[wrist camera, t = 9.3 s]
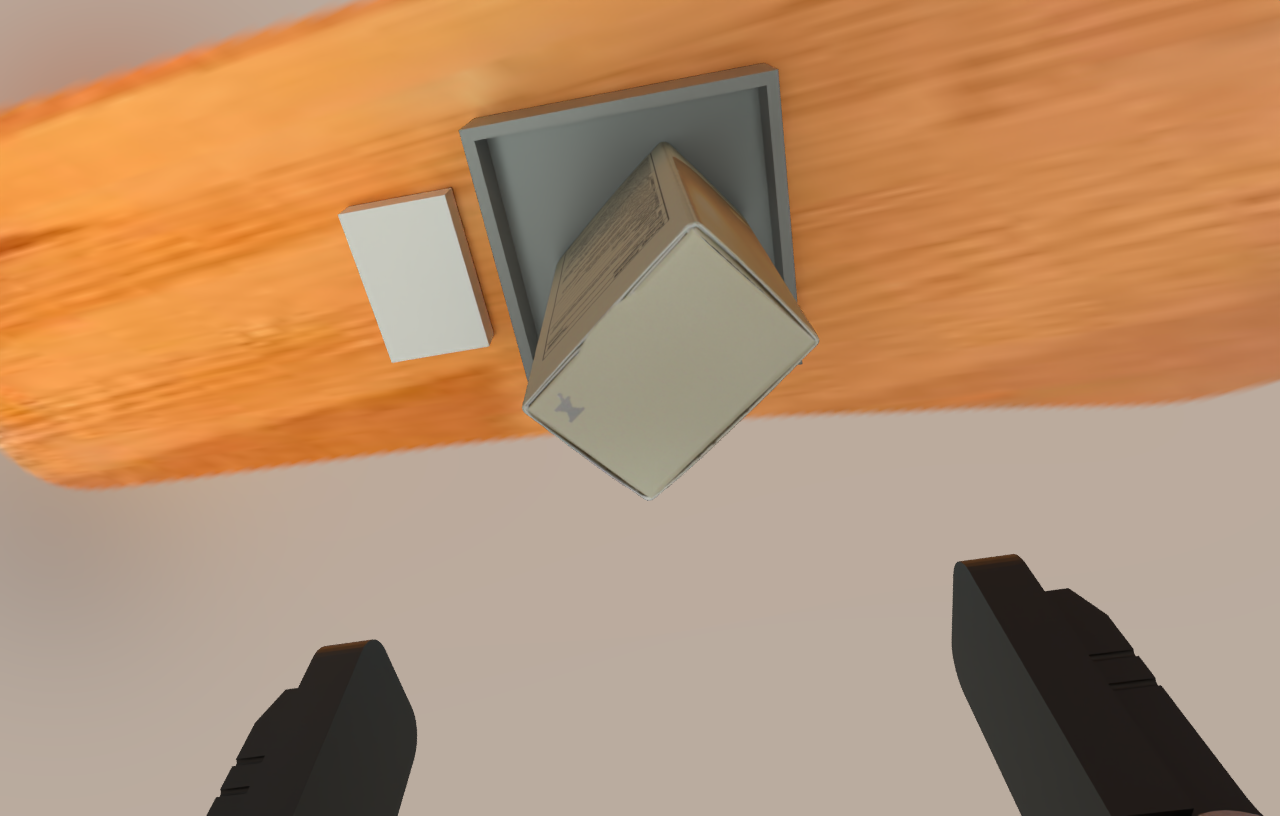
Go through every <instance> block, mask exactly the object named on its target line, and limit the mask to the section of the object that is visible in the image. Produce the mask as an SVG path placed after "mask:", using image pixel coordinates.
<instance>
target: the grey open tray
mask: <svg viewBox="0 0 1280 816" xmlns="http://www.w3.org/2000/svg"><path fill="white" fill-rule="evenodd" d="M459 133H460V137H461V140H462V144H463V148H464V151H465V155H466V158H467V162H468V166H469V169H470V173H471V177H472V180H473V184H474V187H475V191H476V195H477V198H478V202H479V206H480V209H481V213H482V217H483V220H484V224H485V227H486V231H487V235H488V238H489V242H490V246H491V249H492V253H493V257H494V260H495V264H496V267H497V271H498V275H499V278H500V282H501V286H502V289H503V293H504V296H505V300H506V304H507V307H508V311H509V315H510V318H511V322H512V326H513V329H514V333H515V336H516V340H517V344H518V347H519V351H520V355H521V358H522V362H523V366H524V369H525V373H526V376H527V380H528V381H529V377H530V373H531V369H532V364H533V360H534V357H535V352H536V348H537V344H538V340H539V336H540V332H541V328H542V324H543V320H544V316H545V312H546V307H547V304H548V300H549V296H550V291H551V287H552V283H553V278H554V275H555V270H556V266H557V263H558V262H559V260H560V259H561V258H562V256H563V255H564V254H565V253H566V251H567V250H568V249H569V248H570V246H571V245H572V244H573V242H574V241H575V240H576V239H577V237H578V236H579V235H580V234H581V233H582V231H583V230H584V229H585V228H586V226H587V225H588V224H589V223H590V222H591V220H592V219H593V218H594V217H595V216H596V214H597V213H598V212H599V211H600V210H601V209H602V207H603V206H604V205H605V204H606V203H607V201H608V200H609V199H610V198H611V197H612V195H613V194H614V193H615V192H616V191H617V190H618V188H619V187H620V186H621V185H622V184H623V183H624V182H625V181H626V179H627V178H628V177H629V176H630V175H631V174H632V173H633V171H634V170H635V169H636V168H637V167H638V166H639V165H640V164H641V162H642V161H643V160H644V159H645V158H646V157H647V156H648V155H649V154H650V153H651V152H652V151H653V150H654V148H655V147H656V146H657V145H658V144H659V143H661V142H666V143H668V144H670V145H671V146H672V147H673V148H674V149H675V150H677V151H678V152H679V153H680V154H681V155H682V156H683V157H684V158H685V159H686V160H687V161H688V162H689V163H690V164H691V165H693V166H694V167H695V168H696V169H697V170H698V171H699V172H700V173H701V174H702V175H703V176H704V177H705V178H706V179H707V180H708V181H709V182H710V183H711V184H712V185H713V186H714V187H715V188H716V189H717V190H718V191H719V192H720V193H721V194H722V195H723V196H724V197H725V198H726V199H727V200H728V201H729V202H730V203H731V204H732V205H733V206H734V207H735V208H736V209H737V210H738V211H739V212H740V213H741V214H742V215H743V216H744V218H745V219H746V221H747V223H748V224H749V226H750V228H751V229H752V231H753V233H754V234H755V236H756V237H757V239H758V240H759V242H760V244H761V245H762V247H763V249H764V250H765V252H766V253H767V255H768V256H769V258H770V260H771V261H772V263H773V265H774V266H775V268H776V269H777V271H778V273H779V274H780V276H781V278H782V279H783V281H784V282H785V284H786V286H787V287H788V289H789V291H790V292H791V294H792V295H793V297H794V299H795V300H796V302H797V293H796V281H795V268H794V256H793V244H792V232H791V220H790V207H789V195H788V183H787V171H786V159H785V147H784V134H783V122H782V110H781V98H780V86H779V74H778V69H776V68H774V67H772V66H770V65H768V64H766V63H760V64H755V65H750V66H745V67H739V68H734V69H729V70H724V71H719V72H713V73H708V74H703V75H698V76H693V77H687V78H682V79H677V80H672V81H666V82H661V83H656V84H651V85H646V86H640V87H635V88H630V89H625V90H620V91H614V92H609V93H604V94H599V95H593V96H588V97H583V98H578V99H573V100H567V101H562V102H557V103H552V104H547V105H541V106H536V107H531V108H526V109H520V110H515V111H510V112H505V113H500V114H494V115H489V116H484V117H479V118H474V119H473V120H471V121H470V122H469V123H468V124H466V125H465V126H464V127H463V128H461V129H460V130H459ZM338 216H339V219H340V222H341V225H342V227H343V230H344V233H345V236H346V238H347V241H348V244H349V246H350V249H351V252H352V255H353V257H354V260H355V263H356V266H357V268H358V271H359V274H360V277H361V279H362V282H363V285H364V288H365V290H366V293H367V296H368V298H369V301H370V304H371V307H372V309H373V312H374V315H375V318H376V320H377V323H378V326H379V329H380V331H381V334H382V337H383V339H384V342H385V345H386V348H387V350H388V353H389V356H390V359H391V361H392V363H393V362H399V361H405V360H411V359H417V358H423V357H429V356H435V355H440V354H446V353H452V352H458V351H464V350H470V349H476V348H482V347H488V346H490V343H491V341H492V338H493V336H494V333H493V329H492V326H491V322H490V319H489V315H488V312H487V309H486V305H485V302H484V298H483V295H482V291H481V288H480V284H479V281H478V277H477V274H476V271H475V267H474V264H473V260H472V257H471V253H470V250H469V246H468V243H467V239H466V236H465V233H464V229H463V226H462V222H461V219H460V215H459V212H458V208H457V205H456V201H455V198H454V195H453V191H452V188H446V189H441V190H436V191H430V192H425V193H420V194H414V195H409V196H403V197H398V198H393V199H387V200H382V201H376V202H371V203H366V204H360V205H355V206H349V207H347V208H346V209H345V210H343V211H342V212H341V213H339V214H338ZM800 364H802V361H801V362H800V363H799V364H798V365H800Z"/></svg>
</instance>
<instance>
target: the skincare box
mask: <svg viewBox="0 0 1280 816" xmlns="http://www.w3.org/2000/svg"><path fill="white" fill-rule="evenodd" d="M818 343H819V338H818V336H817V334H816V332H815V331H814V329H813V328H812V326H811V324H810V323H809V321H808V320H807V318H806V317H805V315H804V314H803V312H802V310H801V309H800V307H799V305H798V304H797V302H796V300H795V299H794V297H793V295H792V294H791V292H790V291H789V289H788V287H787V286H786V284H785V282H784V281H783V279H782V278H781V276H780V274H779V273H778V271H777V269H776V268H775V266H774V265H773V263H772V261H771V260H770V258H769V256H768V255H767V253H766V252H765V250H764V249H763V247H762V245H761V244H760V242H759V240H758V239H757V237H756V236H755V234H754V233H753V231H752V229H751V228H750V226H749V224H748V223H747V221H746V219H745V218H744V216H743V215H742V214H741V213H740V212H739V211H738V210H737V209H736V208H735V207H734V206H733V205H732V204H731V203H730V202H729V201H728V200H727V199H726V198H725V197H724V196H723V195H722V194H721V193H720V192H719V191H718V190H717V189H716V188H715V187H714V186H713V185H712V184H711V183H710V182H709V181H708V180H707V179H706V178H705V177H704V176H703V175H702V174H701V173H700V172H699V171H698V170H697V169H696V168H695V167H694V166H693V165H691V164H690V163H689V162H688V161H687V160H686V159H685V158H684V157H683V156H682V155H681V154H680V153H679V152H678V151H677V150H675V149H674V148H673V147H672V146H671V145H670V144H668V143H666V142H661V143H659V144H658V145H657V146H656V147H655V148H654V150H653V151H652V152H651V153H650V154H649V155H648V156H647V157H646V158H645V159H644V160H643V161H642V162H641V164H640V165H639V166H638V167H637V168H636V169H635V170H634V171H633V173H632V174H631V175H630V176H629V177H628V178H627V179H626V181H625V182H624V183H623V184H622V185H621V186H620V187H619V188H618V190H617V191H616V192H615V193H614V194H613V195H612V197H611V198H610V199H609V200H608V201H607V203H606V204H605V205H604V206H603V207H602V209H601V210H600V211H599V212H598V213H597V214H596V216H595V217H594V218H593V219H592V220H591V222H590V223H589V224H588V225H587V226H586V228H585V229H584V230H583V231H582V233H581V234H580V235H579V236H578V237H577V239H576V240H575V241H574V242H573V244H572V245H571V246H570V248H569V249H568V250H567V251H566V253H565V254H564V255H563V256H562V258H561V259H560V260H559V262H558V263H557V266H556V270H555V275H554V278H553V283H552V287H551V291H550V296H549V300H548V304H547V307H546V312H545V316H544V320H543V324H542V328H541V332H540V336H539V340H538V344H537V348H536V352H535V357H534V360H533V364H532V369H531V373H530V377H529V381H528V385H527V389H526V394H525V398H524V401H523V406H522V409H523V412H525V413H526V414H527V415H528V416H530V417H531V418H532V419H534V420H535V421H536V422H538V423H539V424H541V425H542V426H543V427H545V428H546V429H547V430H548V431H549V432H551V433H552V434H553V435H555V436H556V437H558V438H559V439H561V440H562V441H563V442H564V443H566V444H567V445H568V446H569V447H571V448H572V449H573V450H575V451H576V452H578V453H579V454H580V455H582V456H583V457H585V458H586V459H587V460H589V461H590V462H591V463H592V464H594V465H595V466H597V467H598V468H599V469H601V470H602V471H603V472H605V473H606V474H608V475H609V476H610V477H612V478H613V479H615V480H616V481H618V482H619V483H621V484H622V485H624V486H626V487H627V488H629V489H630V490H632V491H633V492H635V493H636V494H637V495H639V496H640V497H642V498H643V499H645V500H647V501H648V500H653V499H654V498H656V497H657V496H658V495H659V494H660V493H661V492H663V491H664V490H665V489H666V488H668V487H669V486H670V485H671V484H672V483H673V482H675V481H676V480H677V479H678V478H679V477H681V476H682V475H683V474H684V473H685V472H686V471H687V470H688V469H690V468H691V467H692V466H693V465H694V464H695V463H696V462H697V461H698V460H700V459H701V458H702V457H703V456H704V455H705V454H706V453H707V452H708V451H709V450H710V449H712V448H713V447H714V446H715V445H716V444H717V443H718V442H719V441H720V440H721V439H722V438H723V437H724V436H725V435H726V434H728V432H730V430H732V429H733V428H734V427H735V426H736V425H737V424H738V423H739V422H740V421H741V420H742V419H743V418H744V417H745V416H746V415H747V414H748V413H749V412H750V411H751V410H752V409H753V408H755V407H756V406H757V405H758V404H759V403H760V402H761V401H762V400H763V399H764V398H765V397H766V396H767V395H768V394H769V393H770V392H771V391H772V390H773V389H774V388H775V387H776V386H777V385H778V384H779V383H780V382H781V381H782V380H783V379H784V378H785V377H786V376H787V375H788V374H789V373H790V372H791V371H792V370H793V369H794V368H795V367H796V366H797V365H798V364H799V363H800V362H801V361H802V360H803V358H804V357H805V356H806V355H807V354H808V353H809V352H810V351H811V350H812V349H814V348H815V347H816V346H817V345H818Z"/></svg>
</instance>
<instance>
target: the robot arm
mask: <svg viewBox="0 0 1280 816" xmlns="http://www.w3.org/2000/svg"><path fill="white" fill-rule="evenodd" d="M952 614H953V615H952V653H953V659H954V664H955V668H956V672H957V676H958V679H959V682H960V685H961V688H962V690H963V692H964V695H965V697H966V699H967V701H968V703H969V705H970V707H971V709H972V711H973V714H974V716H975V718H976V720H977V722H978V724H979V726H980V728H981V731H982V733H983V735H984V737H985V739H986V741H987V743H988V745H989V748H990V749H991V752H992V754H993V756H994V758H995V760H996V762H997V764H998V766H999V769H1000V771H1001V773H1002V775H1003V777H1004V779H1005V782H1006V784H1007V786H1008V788H1009V790H1010V792H1011V794H1012V796H1013V798H1014V801H1015V803H1016V805H1017V807H1018V809H1019V811H1020V813H1021V815H1022V816H1263V815H1262V814H1261V813H1260V812H1259V811H1258V810H1257V809H1256V808H1255V807H1254V806H1253V804H1252V803H1251V802H1250V801H1249V800H1248V798H1246V796H1245V795H1244V793H1243V792H1242V791H1241V790H1240V788H1239V787H1238V785H1237V784H1236V783H1235V782H1234V780H1233V779H1232V778H1231V777H1230V775H1229V774H1228V773H1227V771H1226V770H1225V769H1224V767H1223V766H1222V764H1221V763H1220V762H1219V761H1218V759H1217V758H1216V757H1215V755H1214V754H1213V753H1212V751H1211V750H1210V749H1209V748H1208V746H1207V745H1206V744H1205V742H1204V741H1203V740H1202V738H1201V737H1200V736H1199V735H1198V733H1197V732H1196V730H1195V729H1194V728H1193V726H1192V725H1191V724H1190V723H1189V721H1188V720H1187V719H1186V717H1185V716H1184V715H1183V713H1182V712H1181V711H1180V710H1179V708H1178V707H1177V706H1176V704H1175V703H1174V702H1173V700H1172V699H1171V698H1170V696H1169V695H1168V694H1167V692H1166V691H1165V690H1164V688H1162V686H1161V685H1160V686H1158V685H1157V683H1156V680H1155V677H1154V675H1153V674H1152V673H1151V671H1150V670H1149V669H1148V668H1147V666H1146V665H1145V664H1144V662H1143V661H1142V660H1141V658H1140V657H1139V656H1135V654H1134V651H1133V648H1132V647H1131V645H1130V644H1129V643H1128V641H1127V640H1126V639H1125V637H1124V636H1123V635H1122V634H1121V632H1120V631H1119V630H1118V628H1117V627H1116V626H1115V624H1114V623H1113V622H1112V620H1111V619H1110V618H1109V616H1108V615H1107V614H1105V613H1104V612H1102V611H1101V610H1099V609H1098V608H1097V607H1095V606H1094V605H1092V604H1091V603H1089V602H1088V601H1086V600H1085V599H1084V598H1082V597H1081V596H1079V595H1078V594H1076V593H1075V592H1073V591H1072V590H1070V589H1069V588H1066V589H1059V590H1051V591H1044V590H1043V588H1042V587H1041V585H1040V584H1039V582H1038V581H1037V579H1036V578H1035V577H1034V575H1033V574H1032V572H1031V571H1030V570H1029V568H1028V566H1027V565H1026V563H1025V562H1024V561H1023V560H1022V559H1021V558H1020V557H1019V556H1018V555H1015V554H1011V555H1003V556H996V557H989V558H982V559H975V560H967V561H959V562H957V563H956V564H955V567H954V574H953V610H952ZM416 745H417V727H416V720H415V716H414V712H413V709H412V707H411V705H410V703H409V700H408V698H407V696H406V694H405V692H404V690H403V687H402V686H401V683H400V681H399V679H398V677H397V674H396V672H395V670H394V668H393V666H392V664H391V661H390V659H389V657H388V655H387V653H386V650H385V649H384V647H383V645H382V644H381V643H380V642H379V641H377V640H366V641H359V642H352V643H345V644H337V645H330V646H324V647H321V648H320V649H319V650H318V651H317V652H316V653H315V655H314V657H313V659H312V660H311V663H310V665H309V667H308V669H307V671H306V673H305V675H304V677H303V679H302V681H301V683H300V685H299V687H298V688H295V689H288V690H285V691H284V692H283V693H282V694H281V695H280V697H279V698H278V699H277V700H276V701H275V702H274V703H273V704H272V705H271V706H270V707H269V708H268V710H267V711H266V712H265V713H264V714H263V715H262V716H261V717H260V718H259V719H258V720H257V721H256V723H255V724H254V726H253V728H252V730H251V732H250V734H249V736H248V737H247V739H246V741H245V744H244V745H243V747H242V749H241V751H240V753H239V755H238V757H237V758H236V760H237V764H236V766H233V767H232V768H231V770H230V772H229V774H228V776H227V778H226V779H225V781H224V783H223V785H222V787H221V789H220V790H221V795H220V797H216V799H215V801H214V802H213V804H212V806H211V808H210V810H209V812H208V814H207V816H398V813H399V809H400V806H401V802H402V799H403V795H404V792H405V788H406V785H407V781H408V778H409V774H410V771H411V768H412V764H413V761H414V757H415V752H416Z"/></svg>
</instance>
